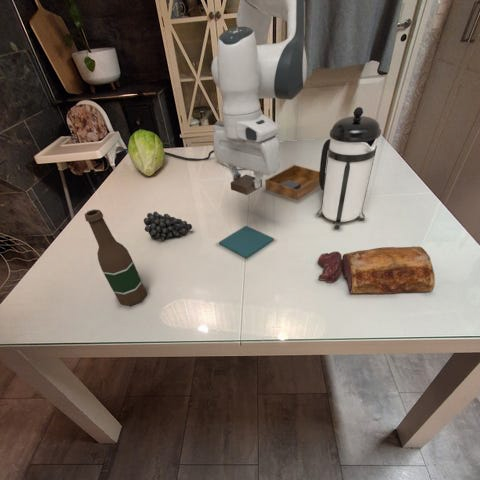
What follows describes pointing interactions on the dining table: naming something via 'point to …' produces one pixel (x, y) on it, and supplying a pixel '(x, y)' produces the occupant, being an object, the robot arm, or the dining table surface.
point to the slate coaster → (292, 184)
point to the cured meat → (381, 270)
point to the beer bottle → (116, 262)
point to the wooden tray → (296, 174)
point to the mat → (246, 241)
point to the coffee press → (347, 166)
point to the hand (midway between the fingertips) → (246, 184)
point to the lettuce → (146, 151)
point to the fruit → (165, 226)
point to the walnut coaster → (244, 185)
